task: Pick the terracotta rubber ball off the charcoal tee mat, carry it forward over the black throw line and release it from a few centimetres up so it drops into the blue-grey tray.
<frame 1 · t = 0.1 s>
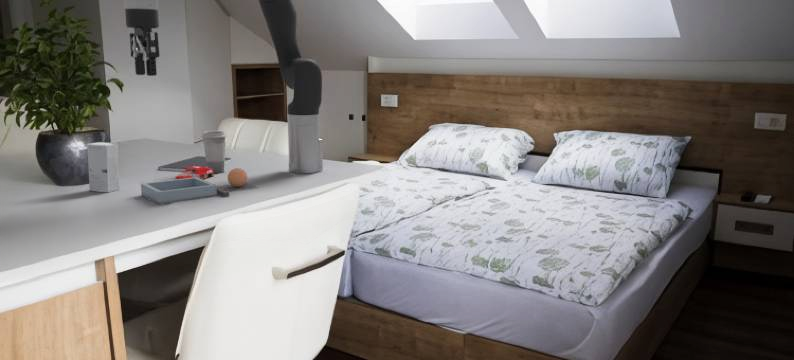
hand: (146, 75, 159), 29 cm above the table, fingers open, 8 cm apart
cup: (216, 172, 189), on the table
tee mat: (237, 188, 166), on the table
skincare box: (105, 191, 163), on the table
notebook: (197, 167, 201), on the table
race car: (194, 182, 176), on the table
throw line: (212, 191, 162), on the table
ball: (237, 187, 166), resting on tee mat
blue-grey tray: (179, 196, 157), on the table
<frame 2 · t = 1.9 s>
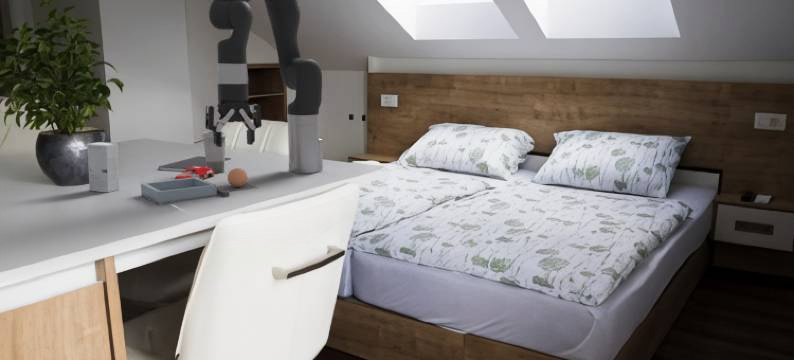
hand: (234, 145, 164), 11 cm above the table, fingers open, 8 cm apart
nothing on the table moved.
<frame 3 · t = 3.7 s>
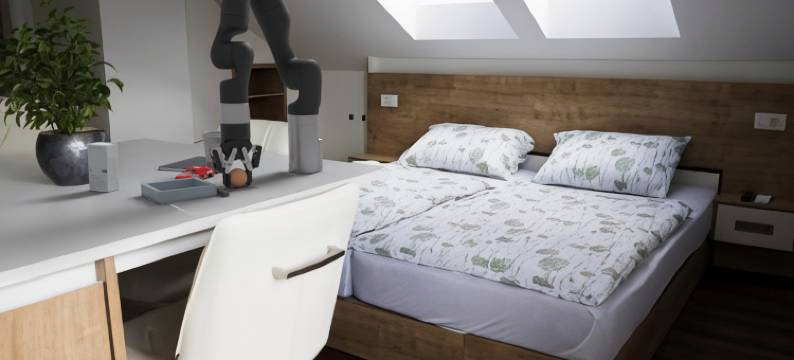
hand: (237, 185, 166), 1 cm above the table, fingers closed on ball, 5 cm apart
ball: (237, 187, 166), resting on tee mat, touching gripper
everything else where it was.
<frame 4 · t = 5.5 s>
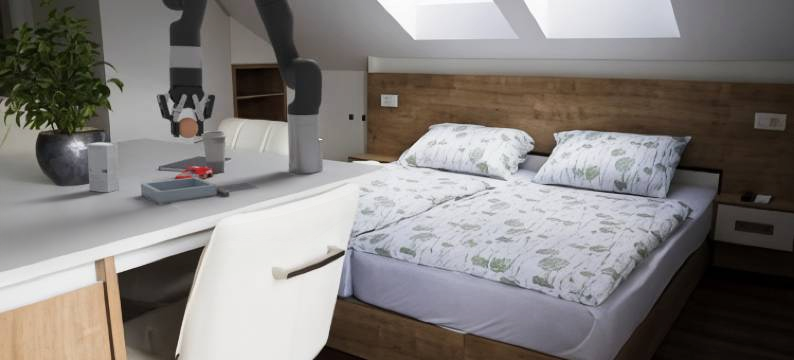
hand: (187, 136, 156), 15 cm above the table, fingers closed on ball, 5 cm apart
ball: (187, 138, 156), point 14 cm above the table, touching gripper
everything else where it was.
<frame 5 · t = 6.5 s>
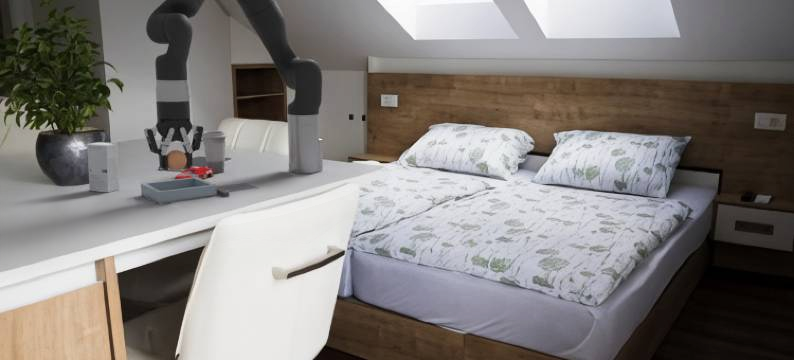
hand: (176, 168, 155), 7 cm above the table, fingers closed on ball, 5 cm apart
ball: (176, 170, 156), point 6 cm above the table, touching gripper
everything else where it was.
when the fingers open (4 cm above the table, at t = 7.2 s): ball drops 3 cm, resting on blue-grey tray.
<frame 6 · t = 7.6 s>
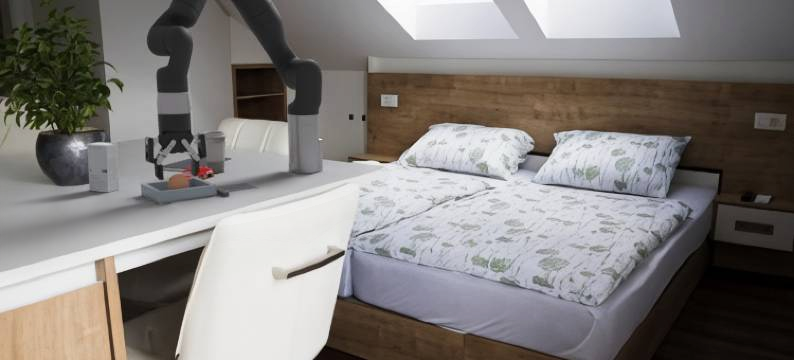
hand: (177, 177, 156), 5 cm above the table, fingers open, 8 cm apart
ball: (179, 193, 157), point 1 cm above the table, touching blue-grey tray
everything else where it was.
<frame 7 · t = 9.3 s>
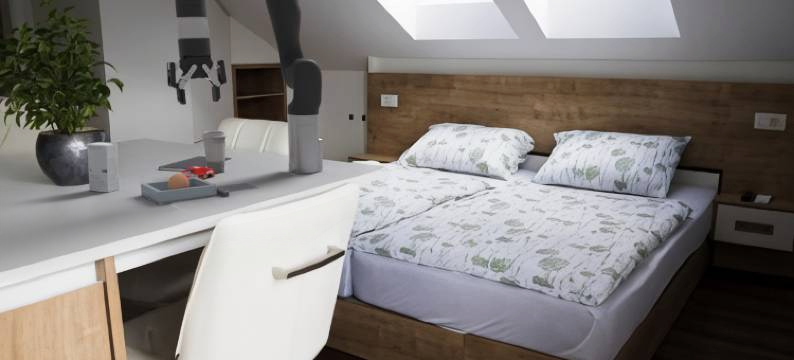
hand: (199, 103, 159), 22 cm above the table, fingers open, 8 cm apart
nothing on the table moved.
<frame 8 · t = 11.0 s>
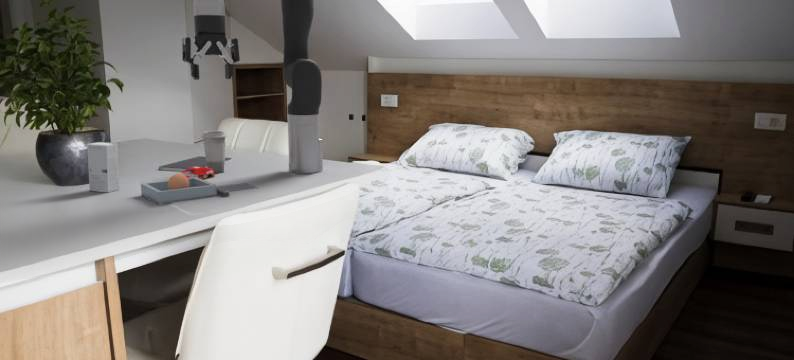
hand: (212, 79, 164), 28 cm above the table, fingers open, 8 cm apart
nothing on the table moved.
at the end: ball inside the target area on the blue-grey tray (0.0 cm from its centre), point 0.6 cm above the blue-grey tray's base; the gripper is holding nothing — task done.
